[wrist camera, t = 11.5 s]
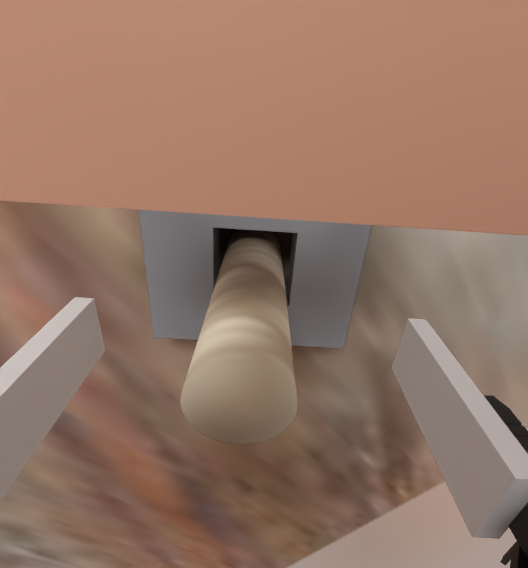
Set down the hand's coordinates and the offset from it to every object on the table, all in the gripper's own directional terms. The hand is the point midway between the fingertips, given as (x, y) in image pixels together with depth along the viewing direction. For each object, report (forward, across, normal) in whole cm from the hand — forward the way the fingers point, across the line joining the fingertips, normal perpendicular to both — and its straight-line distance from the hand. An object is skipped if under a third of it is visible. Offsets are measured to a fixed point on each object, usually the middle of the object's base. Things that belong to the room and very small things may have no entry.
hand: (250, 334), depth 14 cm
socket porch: (+11, 0, +2) cm, 11 cm away
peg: (+11, 0, -1) cm, 11 cm away
